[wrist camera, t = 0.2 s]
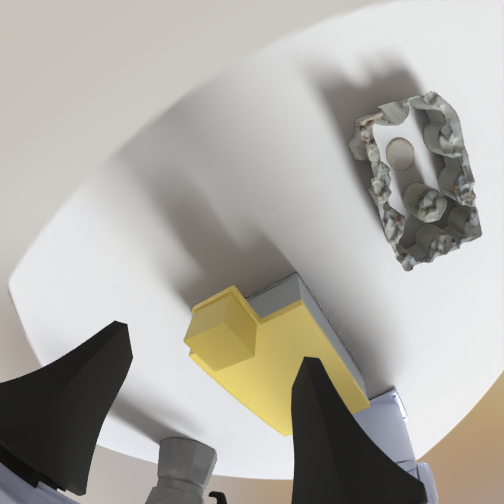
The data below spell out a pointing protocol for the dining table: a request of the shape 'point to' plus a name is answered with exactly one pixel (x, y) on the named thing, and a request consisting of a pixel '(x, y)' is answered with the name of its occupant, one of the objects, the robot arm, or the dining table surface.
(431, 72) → the dining table surface
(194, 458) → the coffeepot
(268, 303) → the tub
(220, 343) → the lid
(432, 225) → the egg carton
